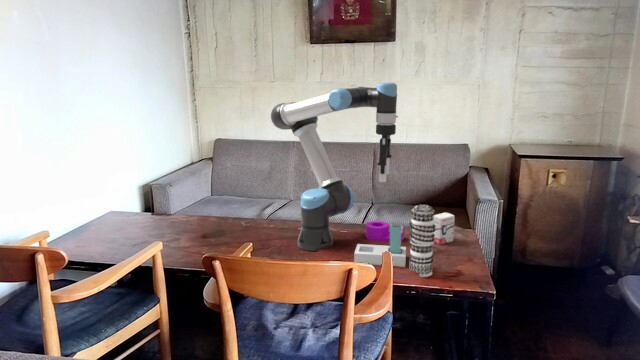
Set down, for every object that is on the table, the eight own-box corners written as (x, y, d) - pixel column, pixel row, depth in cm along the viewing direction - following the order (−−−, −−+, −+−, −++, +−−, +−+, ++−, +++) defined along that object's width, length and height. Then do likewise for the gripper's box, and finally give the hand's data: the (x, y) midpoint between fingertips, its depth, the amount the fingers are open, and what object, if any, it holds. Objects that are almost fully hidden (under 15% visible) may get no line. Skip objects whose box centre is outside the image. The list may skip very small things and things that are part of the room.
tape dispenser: (363, 240, 205) (363, 226, 204) (369, 233, 214) (369, 220, 213) (399, 245, 199) (399, 231, 198) (404, 237, 208) (405, 224, 207)
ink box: (439, 245, 198) (441, 218, 195) (431, 241, 202) (432, 215, 199) (453, 240, 203) (455, 214, 200) (444, 237, 207) (446, 211, 204)
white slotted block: (354, 265, 178) (354, 253, 177) (357, 255, 188) (357, 243, 187) (405, 269, 175) (405, 256, 174) (405, 258, 184) (406, 246, 183)
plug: (389, 262, 179) (390, 226, 175) (389, 258, 182) (390, 223, 179) (401, 263, 178) (402, 227, 174) (401, 258, 181) (402, 223, 178)
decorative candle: (405, 275, 170) (407, 208, 164) (410, 265, 178) (412, 201, 172) (431, 279, 166) (434, 211, 161) (434, 268, 175) (438, 204, 169)
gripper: (393, 128, 168) (391, 186, 173) (398, 120, 192) (396, 171, 197) (372, 127, 170) (370, 184, 175) (379, 119, 193) (378, 170, 198)
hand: (384, 177), depth 186 cm, fingers open, 13 cm apart
